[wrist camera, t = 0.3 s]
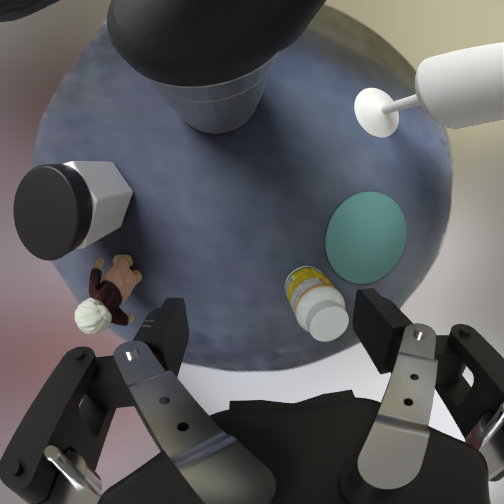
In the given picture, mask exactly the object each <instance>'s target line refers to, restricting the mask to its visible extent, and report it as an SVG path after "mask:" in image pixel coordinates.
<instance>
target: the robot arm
mask: <svg viewBox="0 0 504 504" xmlns="http://www.w3.org/2000/svg"><path fill="white" fill-rule="evenodd" d="M57 1H59V0H0V22H6V21H14V20H17V19H20V18H23V17H26V16H28V15H30V14H32V13H35V12H37V11H39V10H41V9H43V8H45V7H47V6H49V5H51V4H53V3H55V2H57ZM325 1H326V0H112V1H111V3H110V6H109V10H108V14H107V28H108V33H109V37H110V40H111V42H112V44H113V46H114V47H115V49H116V50H117V52H118V53H119V54H120V55H121V56H122V57H123V58H124V59H125V61H127V62H128V63H129V64H130V65H131V66H132V67H133V68H134V69H135V70H136V71H137V72H138V73H139V74H140V75H141V76H142V77H143V78H144V79H145V80H146V81H147V82H148V83H149V84H150V85H151V86H152V87H153V88H154V89H155V90H156V91H157V92H158V93H159V94H160V95H161V96H162V97H163V98H164V100H165V101H166V102H167V103H168V104H169V105H170V106H171V107H172V108H173V109H174V110H175V111H176V112H177V113H178V115H179V116H180V117H181V118H182V119H183V120H184V121H185V122H186V123H187V124H189V125H190V126H191V127H192V128H194V129H196V130H198V131H201V132H204V133H210V134H221V133H227V132H230V131H233V130H235V129H237V128H239V127H241V126H242V125H244V124H245V123H246V122H247V121H248V120H249V119H250V118H251V117H252V115H253V114H254V112H255V110H256V108H257V106H258V103H259V101H260V99H261V97H262V94H263V92H264V89H265V87H266V85H267V82H268V80H269V77H270V75H271V73H272V70H273V68H274V66H275V63H276V61H277V58H278V56H279V54H280V51H281V50H283V49H285V48H286V47H288V46H289V45H291V44H292V43H293V42H294V41H296V40H297V39H298V38H299V37H300V35H301V34H302V33H303V31H304V30H305V29H306V27H307V26H308V24H309V23H310V22H311V20H312V19H313V17H314V16H315V15H316V13H317V12H318V11H319V9H320V8H321V7H322V5H323V4H324V3H325ZM353 329H354V331H355V333H356V335H357V336H358V338H359V339H360V341H361V343H362V344H363V346H364V348H365V349H366V351H367V353H368V354H369V356H370V358H371V359H372V361H373V363H374V364H375V366H376V368H377V369H378V371H379V373H380V374H384V373H388V372H391V377H390V380H389V383H388V385H387V388H386V391H385V394H384V396H383V399H382V402H381V403H380V402H378V401H374V400H371V399H366V398H355V396H354V394H353V392H352V390H346V391H341V392H334V393H328V394H322V395H320V396H317V397H313V398H310V399H307V400H304V401H301V402H298V403H282V402H273V401H265V400H251V401H250V400H249V401H230V406H229V407H230V408H229V410H225V411H221V412H218V413H215V414H212V415H210V416H209V415H208V414H207V413H206V412H205V411H204V410H203V408H202V407H201V406H200V405H199V404H198V403H197V401H196V400H195V399H194V398H193V397H192V396H191V394H190V393H189V392H188V391H187V389H186V388H185V387H184V386H183V385H182V383H181V382H180V381H179V380H178V378H177V376H178V373H179V370H180V366H181V363H182V359H183V356H184V353H185V349H186V346H187V343H188V339H189V328H188V322H187V315H186V309H185V303H184V299H183V298H166V300H165V302H164V303H163V305H162V307H161V308H156V309H154V310H153V311H152V312H150V313H149V314H148V316H147V317H146V319H145V321H144V322H143V324H142V326H141V327H140V329H139V331H138V332H137V334H136V336H135V337H134V339H133V341H129V342H125V343H123V344H121V345H119V346H118V347H117V348H116V349H115V351H114V354H113V355H112V356H105V357H96V356H95V354H94V351H93V350H92V349H91V348H89V347H77V348H74V349H72V350H70V351H68V352H67V353H66V354H65V356H64V357H63V358H62V359H61V361H60V363H59V364H58V365H57V367H56V368H55V369H54V371H53V372H52V374H51V375H50V377H49V378H48V380H47V381H46V383H45V384H44V386H43V387H42V389H41V390H40V392H39V393H38V395H37V397H36V398H35V400H34V401H33V403H32V404H31V406H30V408H29V409H28V411H27V413H26V414H25V416H24V418H23V419H22V421H21V423H20V425H19V426H18V428H17V430H16V432H15V434H14V435H13V437H12V439H11V441H10V443H9V445H8V446H7V448H6V450H5V452H4V454H3V456H2V458H1V460H0V479H1V480H2V482H3V483H4V484H5V485H6V486H7V487H8V488H10V489H11V490H12V491H13V492H15V493H16V494H18V496H20V498H21V499H22V500H24V501H25V502H26V503H28V504H491V503H490V498H489V487H488V481H498V480H500V479H501V478H503V477H504V358H503V357H502V356H501V355H500V354H499V353H498V352H497V351H496V350H495V349H494V348H493V347H492V346H491V345H490V344H489V343H488V342H487V341H486V340H485V339H484V338H483V337H482V336H481V335H480V334H479V333H478V332H477V331H476V330H475V329H474V328H472V327H470V326H468V325H464V324H457V325H454V326H453V327H452V328H451V332H450V334H449V335H436V333H435V331H434V330H433V329H432V328H431V327H429V326H427V325H424V324H417V323H416V324H413V323H412V322H411V321H410V320H409V319H408V318H407V317H406V316H405V315H404V314H403V312H401V310H400V309H399V308H397V306H396V305H395V304H394V303H393V302H392V301H390V300H388V299H386V298H384V297H381V296H380V294H379V293H378V292H377V291H376V290H375V289H374V288H369V289H359V290H358V291H357V293H356V299H355V306H354V313H353ZM466 366H467V367H468V368H469V369H470V371H471V372H472V373H473V376H474V383H473V385H472V387H471V386H470V385H469V384H468V382H467V381H466V380H465V378H464V377H463V376H462V374H463V372H464V370H465V368H466ZM435 389H436V391H437V392H438V394H439V396H440V397H441V399H442V400H443V402H444V404H445V405H446V407H447V409H448V410H449V412H450V413H451V415H452V417H453V419H454V420H455V422H456V424H457V426H458V427H459V429H460V431H461V433H462V435H463V436H464V438H465V442H463V441H461V440H458V439H456V438H453V437H452V436H449V435H447V434H445V433H442V432H440V431H438V430H436V429H434V428H431V427H429V426H428V424H429V419H430V414H431V409H432V403H433V397H434V390H435ZM81 399H83V401H82V403H81V405H80V407H79V404H80V402H81ZM129 406H135V408H136V410H137V412H138V414H139V416H140V418H141V419H142V421H143V423H144V425H145V426H146V428H147V430H148V432H149V434H150V435H151V437H152V439H153V441H154V442H155V444H156V446H157V447H158V449H159V451H160V453H159V454H157V455H156V456H155V457H153V458H152V459H151V460H149V461H148V462H147V463H145V464H144V465H142V466H141V467H139V468H138V469H137V470H135V471H134V472H132V473H131V474H129V475H128V476H126V477H125V478H124V479H122V480H120V481H119V482H118V483H116V484H114V485H113V486H111V487H110V488H109V489H107V490H106V491H105V492H104V493H103V494H102V492H101V489H102V482H101V479H100V477H99V475H98V474H97V473H96V472H95V470H96V466H97V463H98V460H99V457H100V454H101V451H102V448H103V444H104V442H105V439H106V436H107V432H108V430H109V427H110V424H111V421H112V418H113V416H114V413H115V410H116V408H120V407H129Z"/></svg>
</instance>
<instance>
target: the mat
mask: <svg viewBox="0 0 504 504" xmlns="http://www.w3.org/2000/svg"><path fill="white" fill-rule="evenodd" d="M406 239H407V226H406V221H405V218H404V215H403V213H402V211H401V209H400V207H399V206H398V205H397V203H396V202H395V201H394V200H392V199H391V198H390V197H388V196H387V195H384V194H382V193H378V192H373V191H366V192H360V193H357V194H355V195H352V196H351V197H349V198H347V199H346V200H345V201H343V202H342V203H341V204H340V205H339V206H338V208H337V209H336V210H335V212H334V213H333V215H332V217H331V219H330V221H329V223H328V226H327V230H326V235H325V249H326V255H327V258H328V261H329V263H330V265H331V266H332V268H333V269H334V271H335V272H336V273H337V274H338V275H339V276H341V277H342V278H343V279H345V280H347V281H349V282H352V283H356V284H367V283H372V282H375V281H377V280H379V279H381V278H383V277H384V276H386V275H387V274H388V273H389V272H391V270H392V269H393V268H394V267H395V266H396V265H397V263H398V262H399V260H400V258H401V256H402V254H403V251H404V249H405V245H406Z"/></svg>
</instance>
